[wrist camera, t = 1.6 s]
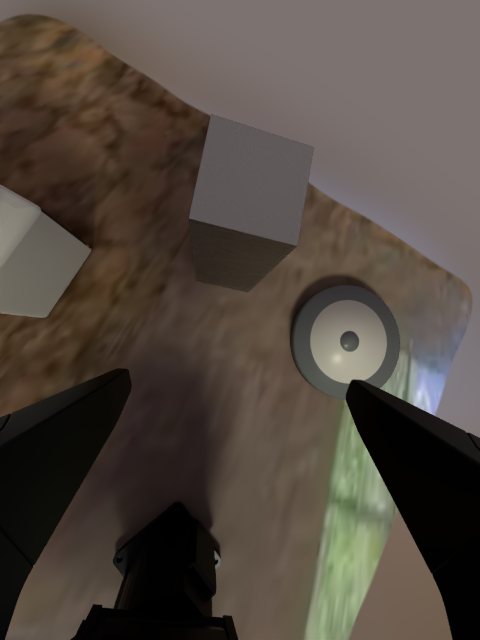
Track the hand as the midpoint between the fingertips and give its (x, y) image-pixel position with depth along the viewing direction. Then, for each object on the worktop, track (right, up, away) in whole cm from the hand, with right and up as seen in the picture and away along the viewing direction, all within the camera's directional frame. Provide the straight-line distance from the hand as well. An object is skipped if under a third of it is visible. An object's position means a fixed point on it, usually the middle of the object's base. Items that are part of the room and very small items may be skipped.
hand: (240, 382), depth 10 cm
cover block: (-1, +8, +13) cm, 15 cm away
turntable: (+10, 0, +14) cm, 18 cm away
